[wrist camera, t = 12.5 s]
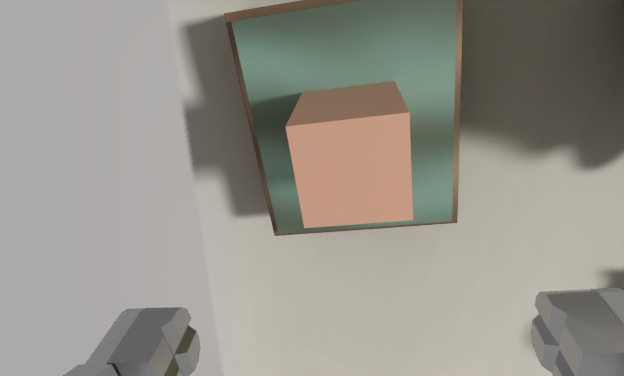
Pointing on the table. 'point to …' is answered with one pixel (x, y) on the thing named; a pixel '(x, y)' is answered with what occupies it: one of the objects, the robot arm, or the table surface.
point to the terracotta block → (352, 155)
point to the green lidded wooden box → (350, 72)
